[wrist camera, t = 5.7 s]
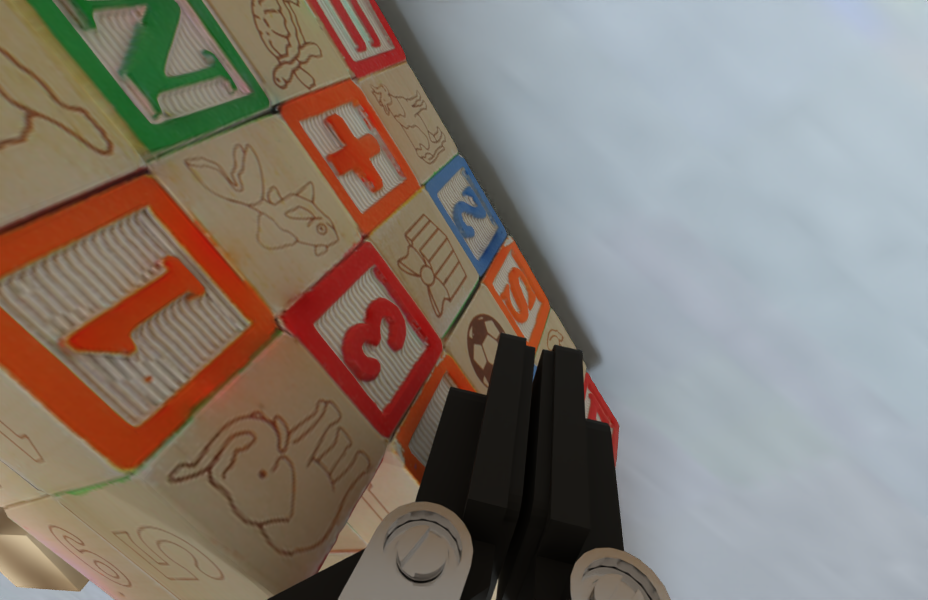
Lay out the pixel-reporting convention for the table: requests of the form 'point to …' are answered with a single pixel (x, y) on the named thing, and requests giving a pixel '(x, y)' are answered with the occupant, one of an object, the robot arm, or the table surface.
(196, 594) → the stack of blocks
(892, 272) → the table surface
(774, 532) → the table surface
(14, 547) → the beech block
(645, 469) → the table surface
